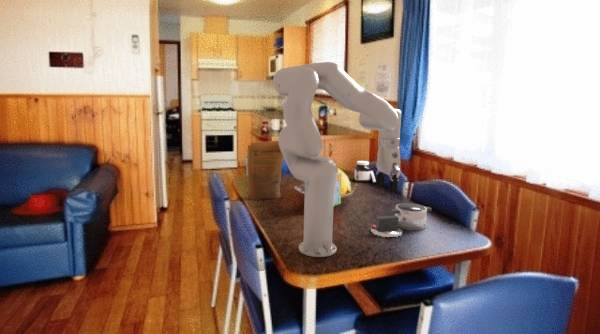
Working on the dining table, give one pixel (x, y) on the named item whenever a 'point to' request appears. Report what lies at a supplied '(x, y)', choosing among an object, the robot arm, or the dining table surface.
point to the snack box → (336, 192)
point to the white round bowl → (386, 227)
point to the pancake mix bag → (264, 170)
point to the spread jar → (363, 172)
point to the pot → (411, 216)
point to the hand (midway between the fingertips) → (386, 188)
